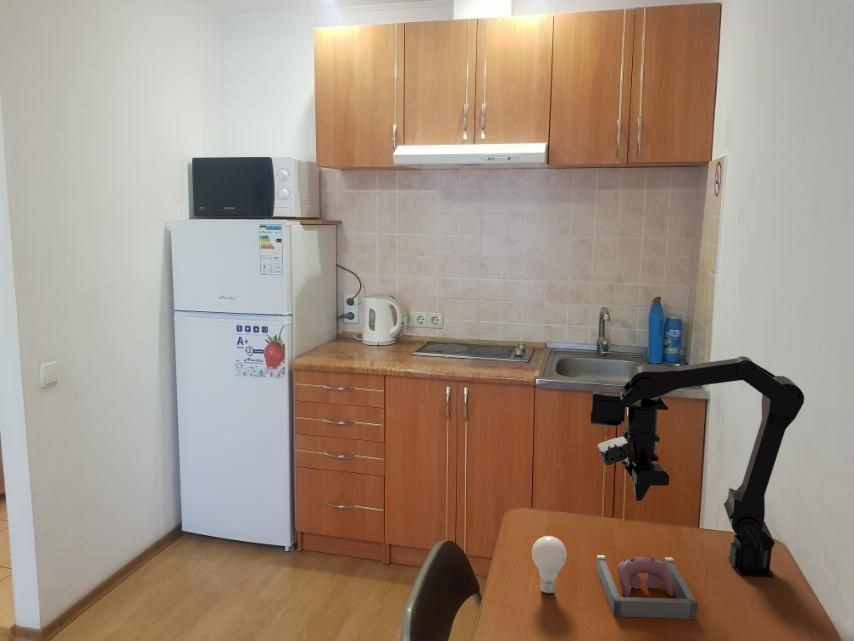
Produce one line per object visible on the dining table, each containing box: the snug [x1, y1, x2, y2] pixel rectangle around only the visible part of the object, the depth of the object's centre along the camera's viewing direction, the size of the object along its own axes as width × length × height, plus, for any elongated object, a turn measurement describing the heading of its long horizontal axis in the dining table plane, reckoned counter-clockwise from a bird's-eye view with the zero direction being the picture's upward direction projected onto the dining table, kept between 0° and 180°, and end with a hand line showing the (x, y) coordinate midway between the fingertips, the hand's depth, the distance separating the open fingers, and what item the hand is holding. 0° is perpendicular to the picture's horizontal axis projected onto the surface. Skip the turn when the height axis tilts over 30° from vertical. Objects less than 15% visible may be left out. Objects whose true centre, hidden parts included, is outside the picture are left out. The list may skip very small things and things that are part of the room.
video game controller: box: [617, 555, 675, 597], centre depth 126 cm, size 10×5×7 cm, turn 93°
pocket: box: [596, 554, 698, 620], centre depth 125 cm, size 15×15×3 cm
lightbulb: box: [531, 535, 567, 594], centre depth 124 cm, size 6×6×11 cm
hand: (638, 500), depth 138 cm, fingers closed
